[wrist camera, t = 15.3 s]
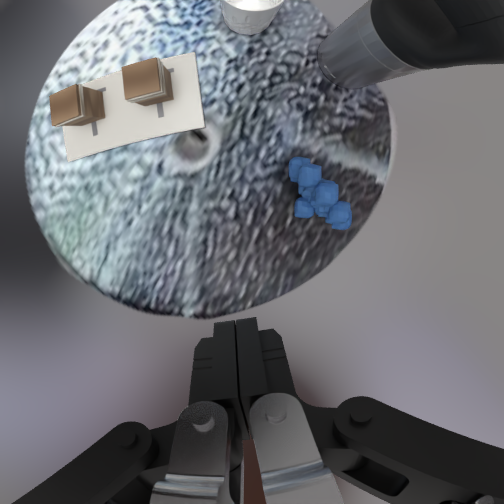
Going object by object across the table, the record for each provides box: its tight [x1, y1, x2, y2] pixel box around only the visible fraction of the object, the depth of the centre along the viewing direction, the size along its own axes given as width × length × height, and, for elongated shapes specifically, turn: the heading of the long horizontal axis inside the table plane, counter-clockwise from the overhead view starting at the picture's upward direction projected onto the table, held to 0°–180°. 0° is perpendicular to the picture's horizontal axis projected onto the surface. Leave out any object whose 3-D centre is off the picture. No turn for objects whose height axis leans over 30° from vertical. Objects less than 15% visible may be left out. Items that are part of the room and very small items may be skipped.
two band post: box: [122, 58, 174, 106], centre depth 28 cm, size 4×4×8 cm
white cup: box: [220, 0, 285, 35], centre depth 26 cm, size 8×8×10 cm
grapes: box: [289, 157, 352, 230], centre depth 35 cm, size 12×7×12 cm, turn 42°
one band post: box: [49, 84, 105, 127], centre depth 28 cm, size 4×4×8 cm
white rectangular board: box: [63, 52, 205, 162], centre depth 33 cm, size 11×21×2 cm, turn 97°
